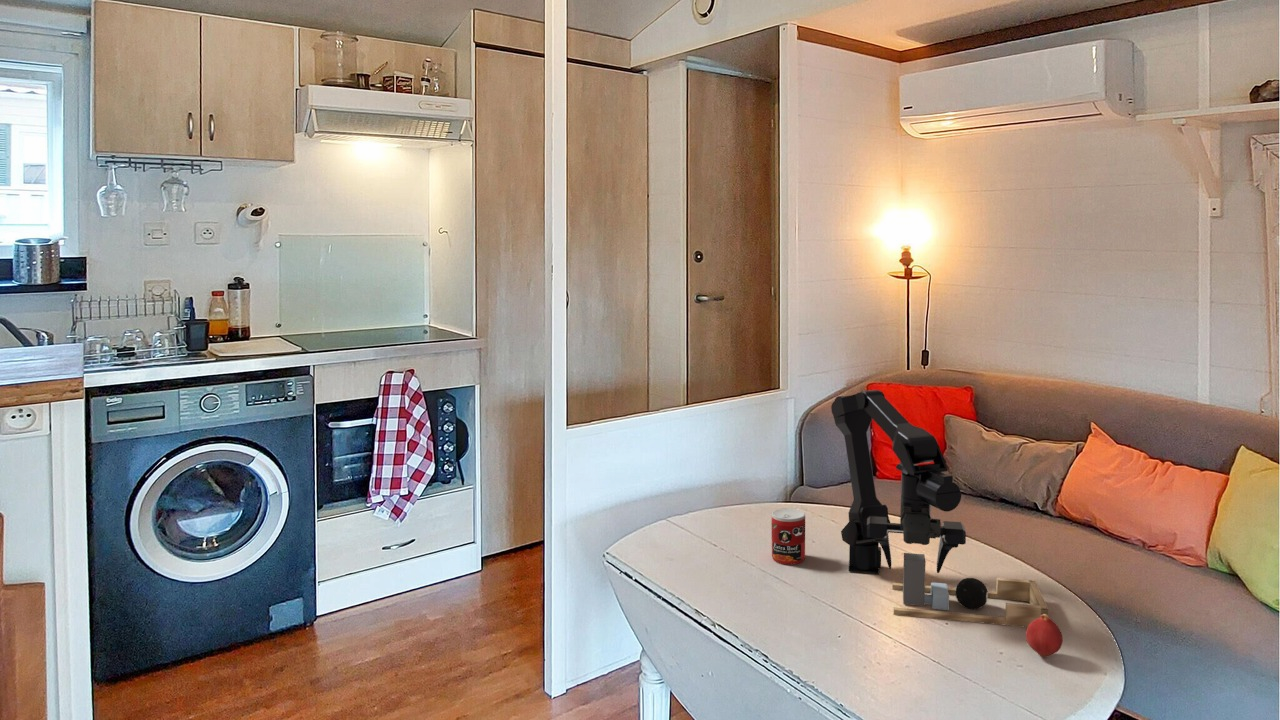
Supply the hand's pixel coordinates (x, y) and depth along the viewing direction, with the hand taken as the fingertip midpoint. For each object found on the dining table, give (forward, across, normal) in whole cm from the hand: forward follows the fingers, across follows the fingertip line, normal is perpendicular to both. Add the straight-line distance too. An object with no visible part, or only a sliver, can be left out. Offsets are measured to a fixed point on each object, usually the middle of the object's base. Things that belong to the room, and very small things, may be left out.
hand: (913, 570), depth 168 cm
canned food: (+7, -27, +18) cm, 33 cm away
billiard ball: (+7, +11, 0) cm, 13 cm away
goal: (+7, +20, 0) cm, 21 cm away
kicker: (+6, +2, 0) cm, 7 cm away
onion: (+7, +21, -18) cm, 29 cm away
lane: (+7, +6, 0) cm, 9 cm away
